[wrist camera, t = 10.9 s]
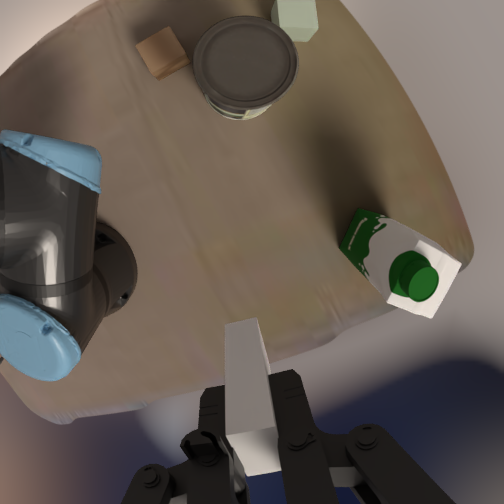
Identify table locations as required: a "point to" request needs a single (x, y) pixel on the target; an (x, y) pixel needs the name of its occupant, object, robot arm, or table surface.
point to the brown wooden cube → (163, 53)
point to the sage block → (296, 18)
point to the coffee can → (244, 66)
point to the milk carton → (399, 262)
